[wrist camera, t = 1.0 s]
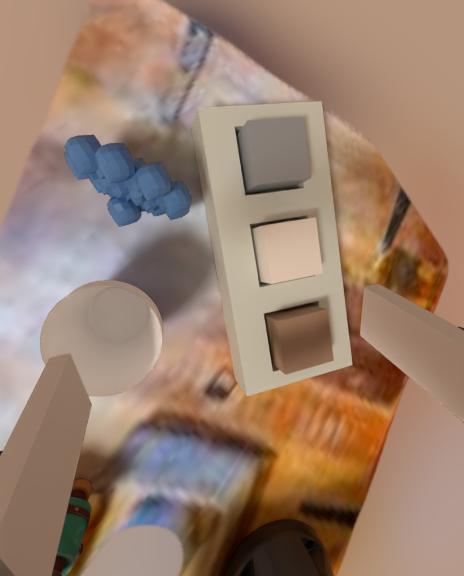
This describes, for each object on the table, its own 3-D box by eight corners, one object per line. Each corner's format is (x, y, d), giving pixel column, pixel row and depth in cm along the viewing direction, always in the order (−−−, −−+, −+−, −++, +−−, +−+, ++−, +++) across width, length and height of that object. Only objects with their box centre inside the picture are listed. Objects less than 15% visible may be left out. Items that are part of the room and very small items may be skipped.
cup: (130, 259, 34) (119, 259, 23) (175, 322, 36) (186, 351, 25) (58, 304, 33) (8, 329, 21) (109, 367, 35) (89, 421, 23)
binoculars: (-69, 671, 24) (-42, 567, 23) (-1, 540, 34) (21, 463, 33) (52, 664, 26) (82, 570, 25) (82, 544, 37) (104, 472, 35)
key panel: (329, 352, 42) (352, 364, 37) (235, 379, 39) (247, 396, 34) (300, 121, 38) (321, 101, 33) (191, 128, 35) (197, 107, 30)
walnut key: (315, 350, 38) (333, 360, 34) (271, 362, 36) (285, 374, 32) (308, 303, 37) (327, 309, 33) (263, 314, 35) (277, 321, 31)
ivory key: (304, 271, 36) (322, 273, 32) (258, 281, 35) (271, 284, 31) (298, 221, 35) (315, 217, 31) (250, 229, 34) (263, 225, 30)
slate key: (293, 187, 35) (311, 178, 31) (244, 193, 33) (256, 184, 29) (286, 132, 34) (303, 116, 30) (235, 136, 32) (247, 120, 29)
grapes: (69, 212, 32) (23, 185, 21) (89, 152, 32) (55, 92, 21) (173, 250, 35) (184, 245, 24) (192, 195, 35) (212, 165, 24)
